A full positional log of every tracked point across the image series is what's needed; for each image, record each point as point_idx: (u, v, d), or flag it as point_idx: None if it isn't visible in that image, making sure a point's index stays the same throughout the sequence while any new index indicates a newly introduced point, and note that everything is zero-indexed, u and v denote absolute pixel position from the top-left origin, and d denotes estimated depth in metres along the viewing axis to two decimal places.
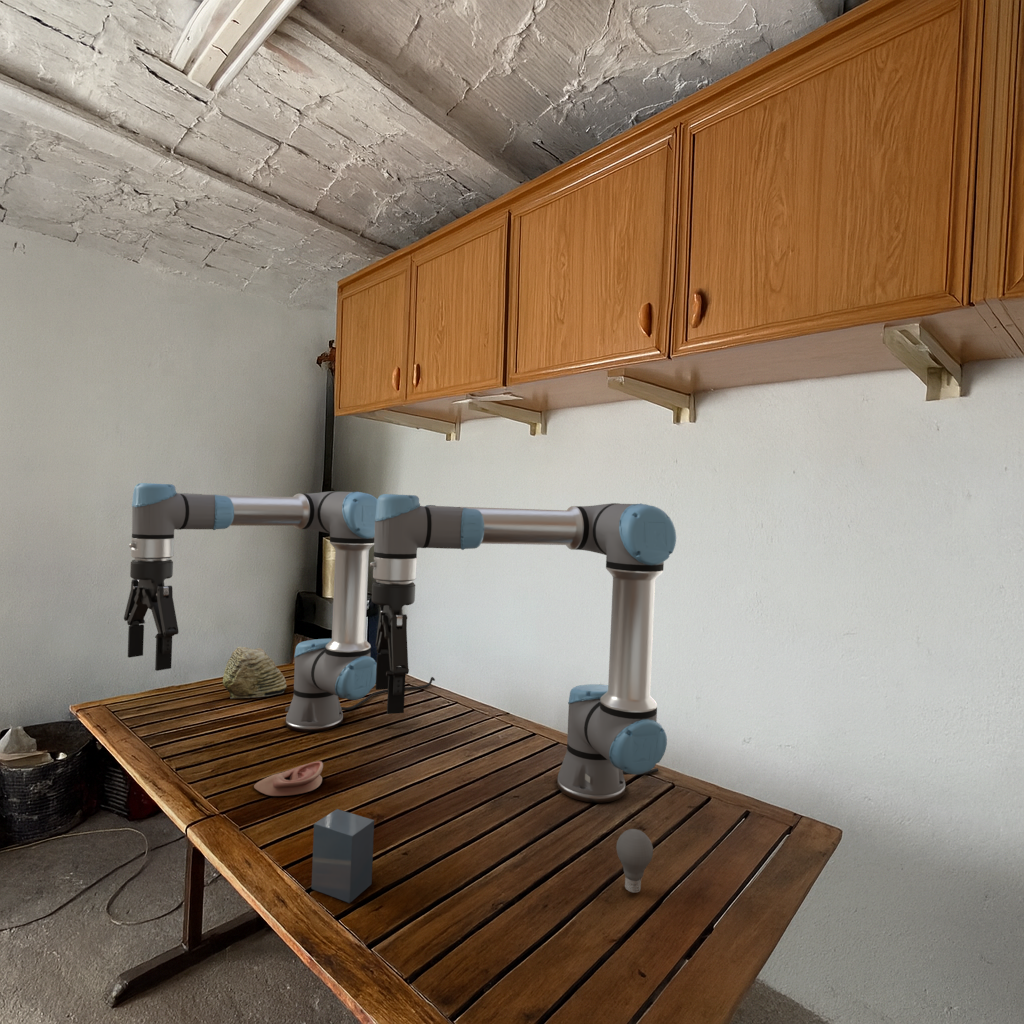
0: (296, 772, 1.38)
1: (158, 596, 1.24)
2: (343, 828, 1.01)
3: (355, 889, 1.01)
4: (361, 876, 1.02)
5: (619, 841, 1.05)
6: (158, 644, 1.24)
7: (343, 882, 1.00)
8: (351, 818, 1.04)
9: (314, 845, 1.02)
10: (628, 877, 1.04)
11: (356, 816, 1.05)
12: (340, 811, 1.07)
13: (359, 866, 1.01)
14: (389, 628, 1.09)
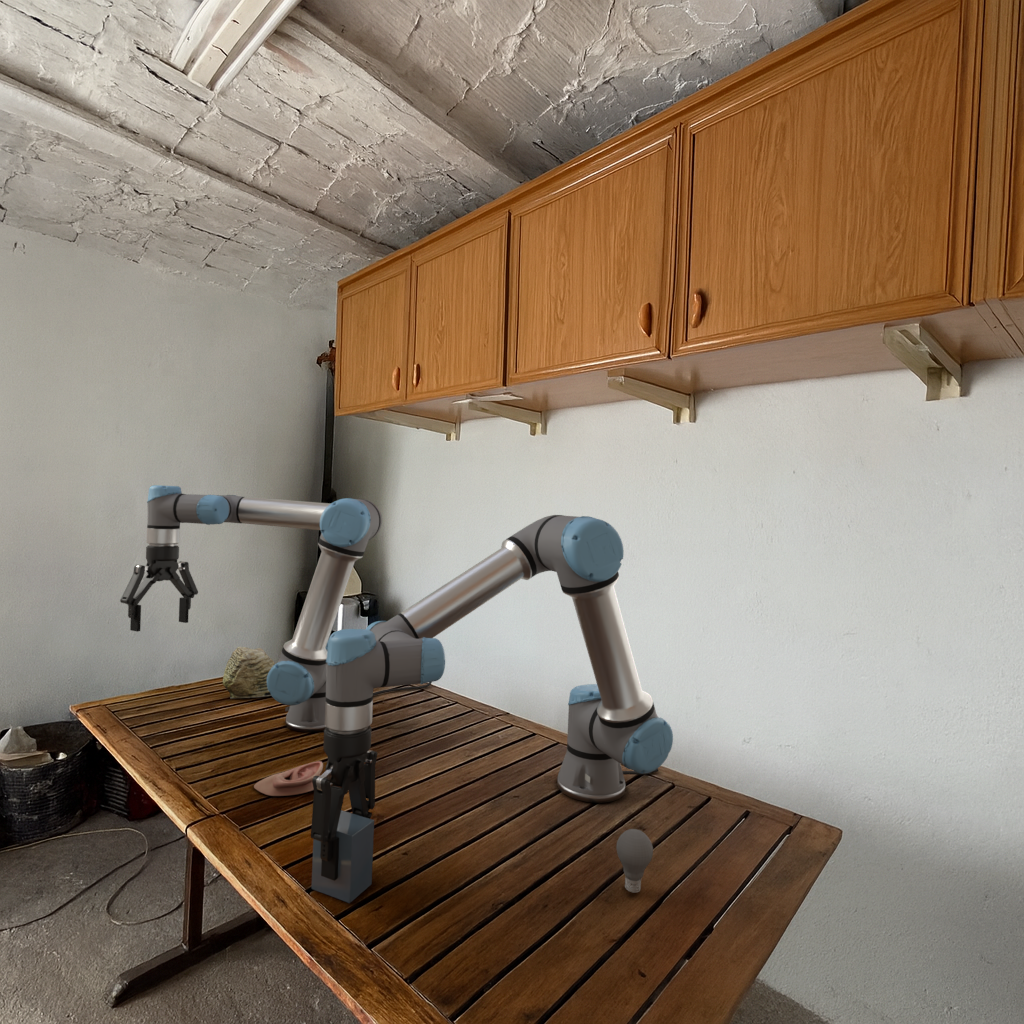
0: (296, 772, 1.38)
1: None
2: (343, 828, 1.01)
3: (355, 889, 1.01)
4: (361, 876, 1.02)
5: (619, 841, 1.05)
6: None
7: (343, 882, 1.00)
8: (351, 818, 1.04)
9: (314, 845, 1.02)
10: (628, 877, 1.04)
11: (356, 816, 1.05)
12: None
13: (359, 866, 1.01)
14: None
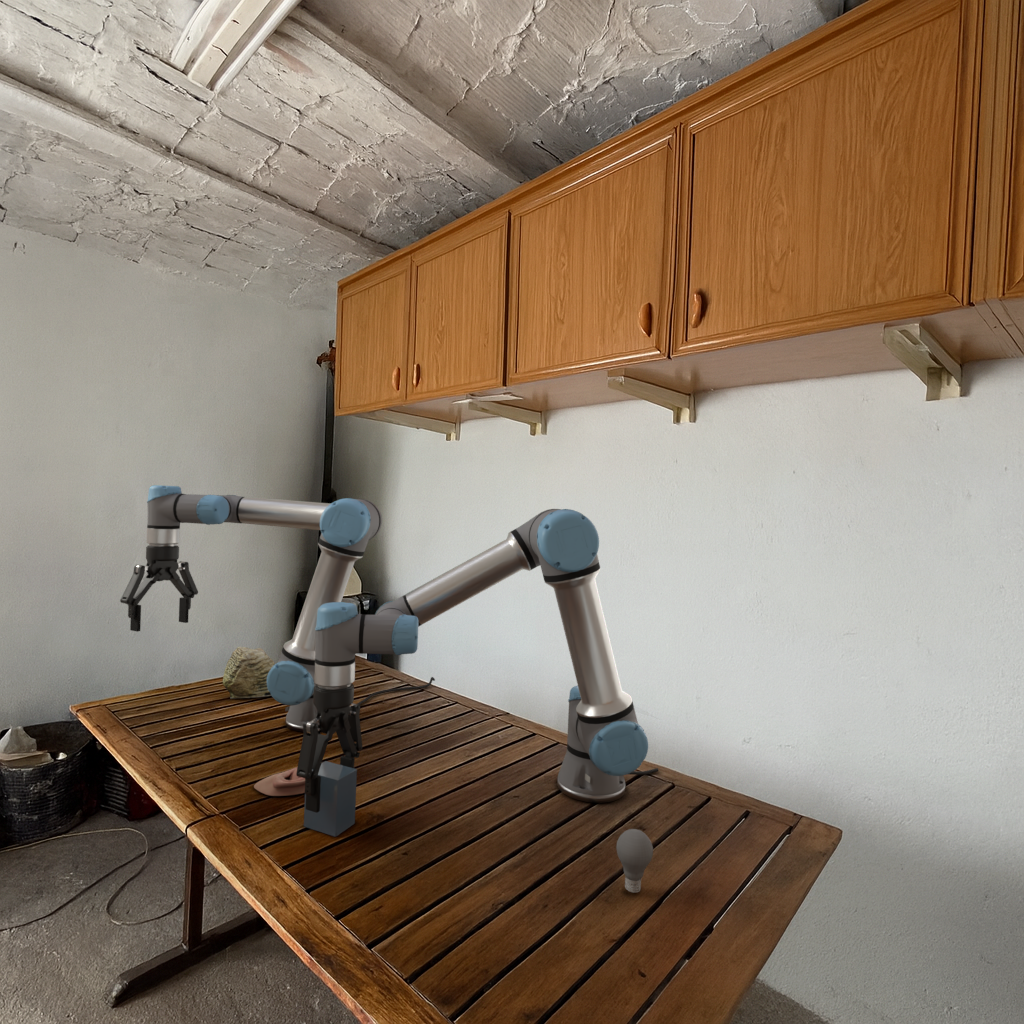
0: (296, 772, 1.38)
1: None
2: (330, 775, 1.20)
3: (340, 825, 1.20)
4: (345, 815, 1.21)
5: (619, 841, 1.05)
6: None
7: (330, 819, 1.19)
8: (338, 768, 1.23)
9: None
10: (628, 877, 1.04)
11: (341, 766, 1.24)
12: (328, 762, 1.26)
13: (344, 807, 1.20)
14: (319, 727, 1.20)
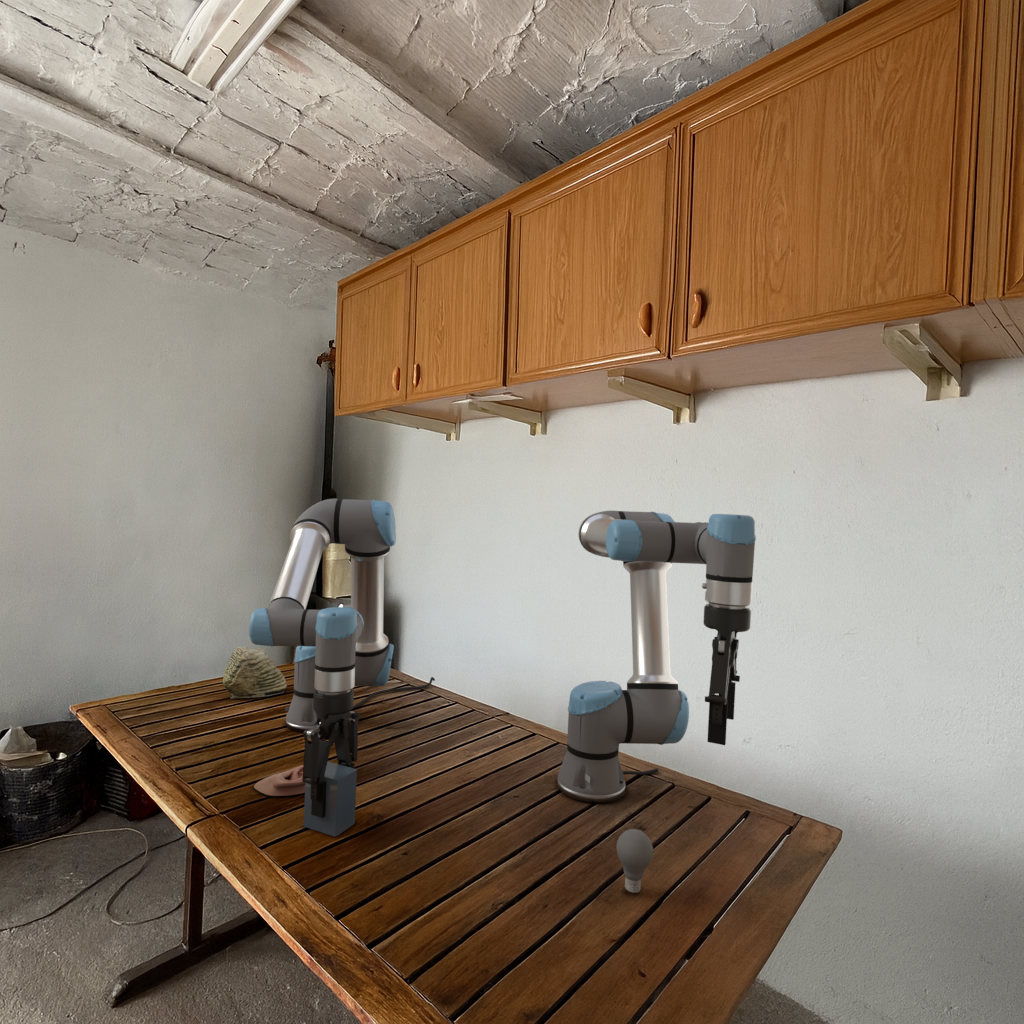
0: (296, 772, 1.38)
1: None
2: (330, 775, 1.20)
3: (340, 825, 1.20)
4: (345, 816, 1.21)
5: (619, 841, 1.05)
6: None
7: (330, 820, 1.19)
8: (337, 768, 1.23)
9: (306, 789, 1.21)
10: (628, 877, 1.04)
11: (341, 766, 1.24)
12: (328, 762, 1.26)
13: (344, 807, 1.20)
14: None
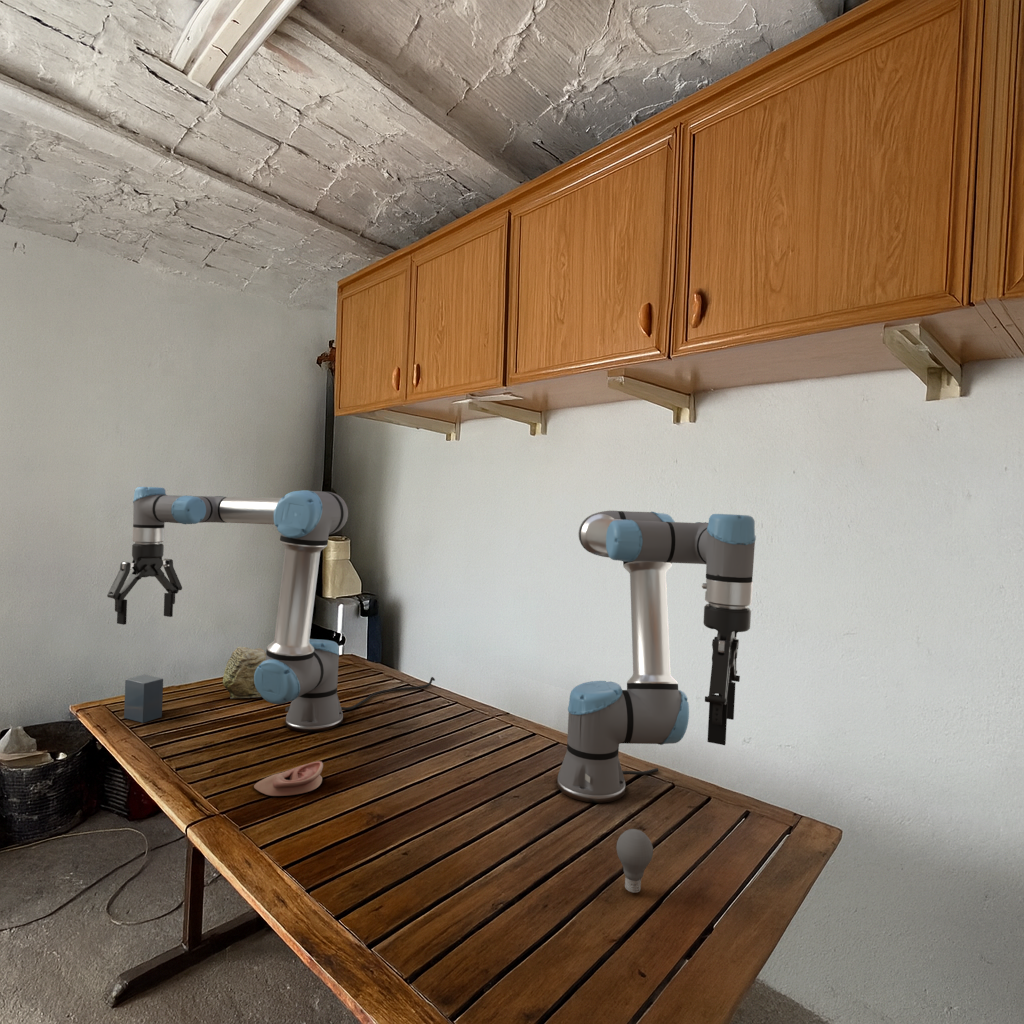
0: (296, 772, 1.38)
1: None
2: (141, 681, 1.72)
3: (148, 716, 1.72)
4: (152, 709, 1.73)
5: (619, 841, 1.05)
6: None
7: (139, 711, 1.71)
8: (150, 677, 1.76)
9: (125, 691, 1.74)
10: (628, 877, 1.04)
11: (153, 677, 1.76)
12: (145, 675, 1.78)
13: (150, 703, 1.72)
14: None
